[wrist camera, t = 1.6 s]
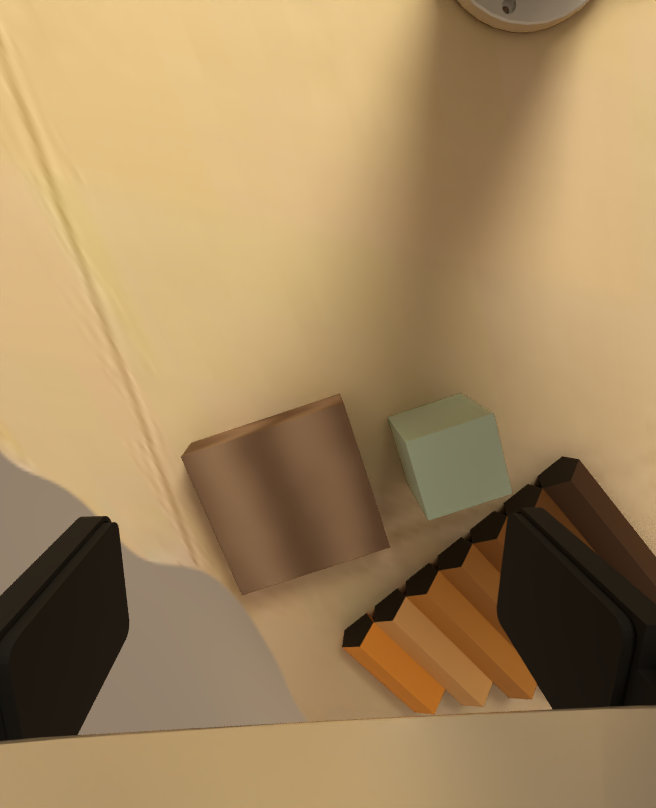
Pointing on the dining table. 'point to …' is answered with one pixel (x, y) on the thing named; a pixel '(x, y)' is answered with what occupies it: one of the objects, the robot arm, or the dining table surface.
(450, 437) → the sage cube
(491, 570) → the pan flute
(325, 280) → the dining table surface
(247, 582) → the walnut stand
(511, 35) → the dining table surface
